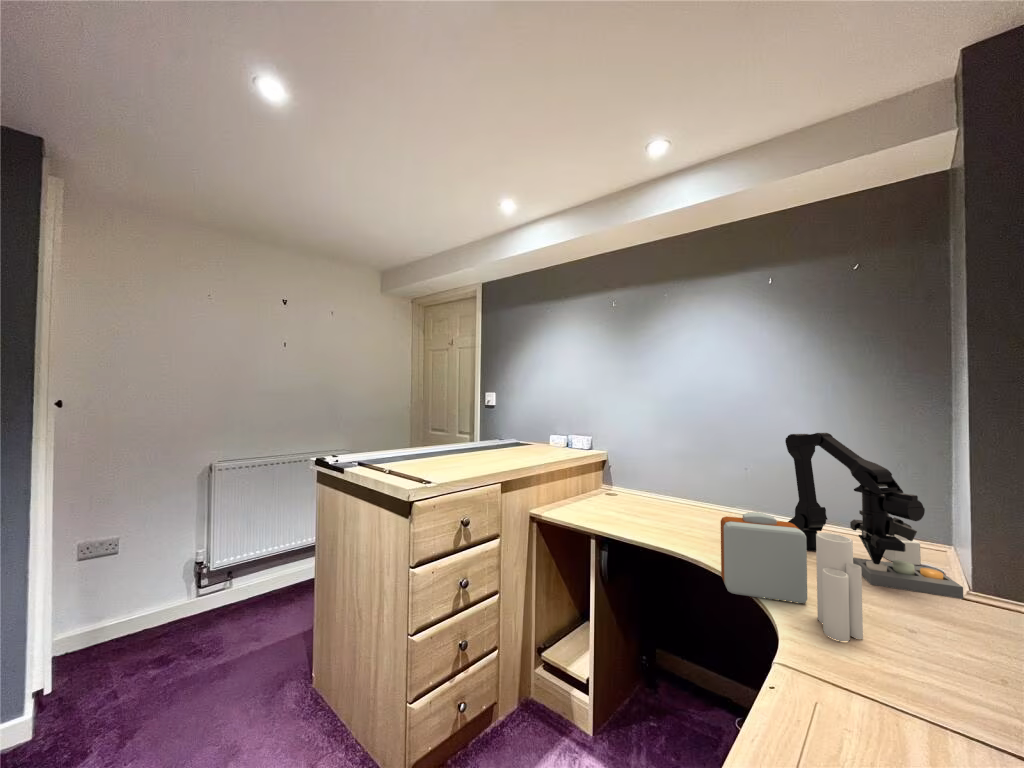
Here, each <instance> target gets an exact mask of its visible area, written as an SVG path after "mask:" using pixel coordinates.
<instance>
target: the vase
mask: <svg viewBox="0 0 1024 768" xmlns="http://www.w3.org/2000/svg"><path fill="white" fill-rule="evenodd" d="M853 544H854V543H853V539H851V538H850V537H847V536H844V535H841V534H837V533H831V532H817V534H816V551H815V553H816V597H817V598H816V599H817V601H816V602H817V603H816V604H817V611H816V612H817V621H818V620H819V621H820V622H821V623H823V625H822V627H823V628H822V629H823V630H822V631H824V632H823V634H824V633H825V634H826V635H827V636H829V637H831V638H833V639H836V640H839V641H849V640H850V639H851V637H850V636H852V637H854V638H857V639H863V640H864V625H863V621H864V620H863V618H864V617H863V584H862V583H863V582H862V580H863V578H862V577H863V576H862V570H861V566H859V565H856V564H853V558H854V545H853ZM819 621H818V622H819ZM820 622H819V623H820ZM821 623H820V624H821ZM825 634H824V635H825ZM826 635H825V636H826ZM827 636H826V637H827ZM850 641H851V640H850ZM850 641H849V642H850Z"/></svg>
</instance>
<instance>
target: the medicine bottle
mask: <svg viewBox="0 0 1024 768" xmlns="http://www.w3.org/2000/svg"><path fill="white" fill-rule="evenodd" d="M904 525H906V526H908V527H910V528H912V526H911V525H910V524H908V523H907V522H906V523H905V522H904ZM912 529H913V528H912ZM886 536H890V535H886ZM894 537H896V538H898V539H899V540H901V541H902V542H903V543H904V544H905V552H901V551H893V550H885V552H884V554H883V557H882V558H885V559H886V560H888V561H889V562H891V563H893V560H900V561H905V562H909V563H911V564H913V565H914V566H921V563H922V562H921V542H919V541H917V540H915V539H913V541H910V540H907V539H906V538H904V537H901V536H899V535H896V534H895V536H894Z"/></svg>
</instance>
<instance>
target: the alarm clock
mask: <svg viewBox="0 0 1024 768" xmlns="http://www.w3.org/2000/svg"><path fill="white" fill-rule="evenodd" d="M807 551H808V550H807V545H806V536H805V534H804V533H803V532H802V531H801V530H800V529H799V528H798V527H797V526H795V525H794V524H792V523H790V522H788V521H779V520H777V519H776V518H775V517H774V516H771V515H769V514H766V513H763V512H757V511H756V512H755V511H753V512H747V513H743V514H742V517H737V516H736V517H735V516H729V515H728V516H724V517H722V518H721V519H720V566H721V567H720V571H721V572H720V575H721V578H722V581H723V583H724V585H725V588H726V589H727V592H729V593H731V594H733V595H734V594H735V595H740V596H746V597H754V598H760V599H762V598H761V597H765V598H764V599H766V598H770V599H769V600H772V599H779V600H786V601H792V602H798V603H797V604H799V603H803V604H806V603H807V601H808V555H807V553H808V552H807ZM779 600H778V601H779ZM792 602H791V603H792Z"/></svg>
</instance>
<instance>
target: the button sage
mask: <svg viewBox="0 0 1024 768" xmlns="http://www.w3.org/2000/svg"><path fill="white" fill-rule="evenodd" d="M892 563H893V571H895V572H896V573H899V574H906V575H913V576H915V573H914V566H915V565H913V564H911V563H909V562H905V561H900V560H893V562H892Z"/></svg>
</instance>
